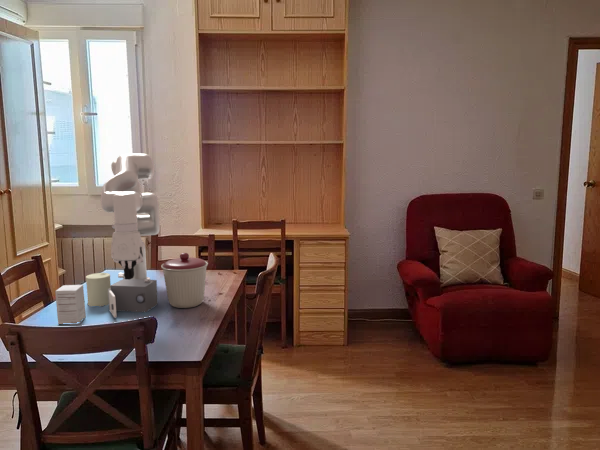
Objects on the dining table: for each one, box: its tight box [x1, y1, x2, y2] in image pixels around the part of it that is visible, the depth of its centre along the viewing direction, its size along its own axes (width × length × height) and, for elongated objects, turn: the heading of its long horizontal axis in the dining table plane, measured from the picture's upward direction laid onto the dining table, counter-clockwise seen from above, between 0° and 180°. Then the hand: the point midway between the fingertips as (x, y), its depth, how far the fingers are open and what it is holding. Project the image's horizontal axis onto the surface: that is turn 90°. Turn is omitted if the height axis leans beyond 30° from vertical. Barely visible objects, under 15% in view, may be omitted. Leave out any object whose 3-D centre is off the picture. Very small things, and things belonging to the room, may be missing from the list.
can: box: [85, 272, 112, 307], centre depth 193 cm, size 9×9×12 cm
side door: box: [108, 289, 118, 318], centre depth 179 cm, size 10×2×8 cm, turn 31°
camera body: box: [110, 278, 159, 313], centre depth 187 cm, size 14×11×11 cm
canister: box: [160, 252, 209, 309], centre depth 190 cm, size 18×18×21 cm
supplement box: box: [54, 284, 87, 324], centre depth 173 cm, size 7×7×13 cm
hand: (129, 278), depth 172 cm, fingers closed
